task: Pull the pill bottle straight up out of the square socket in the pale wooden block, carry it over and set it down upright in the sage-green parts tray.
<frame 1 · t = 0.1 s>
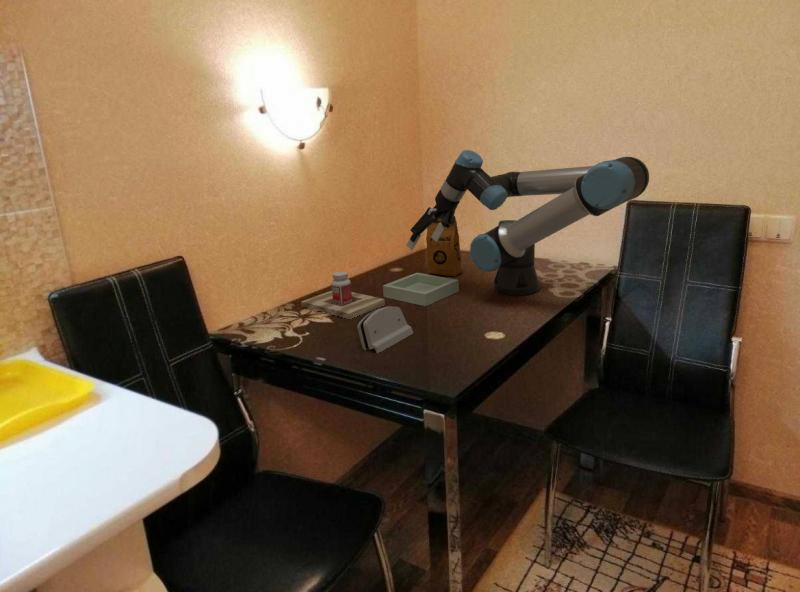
hand: (422, 243, 202), 15 cm above the table, tool tilted 35°, fingers open, 13 cm apart
socket block: (343, 306, 191), on the table
parts tray: (421, 294, 198), on the table
coffee package: (444, 274, 220), on the table
pill bottle: (343, 306, 191), resting in socket block
napkin holder: (385, 341, 161), on the table
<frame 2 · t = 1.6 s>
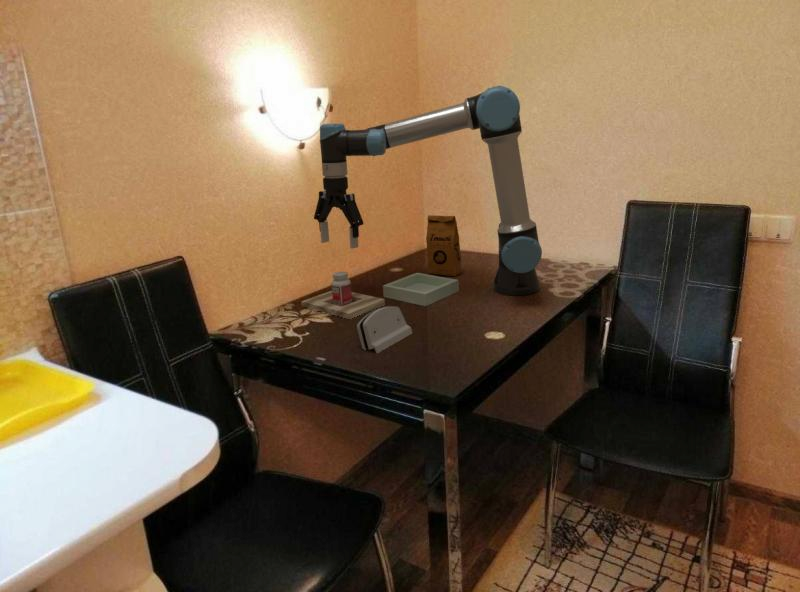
hand: (339, 245, 186), 20 cm above the table, tool pointing down, fingers open, 13 cm apart
nothing on the table moved.
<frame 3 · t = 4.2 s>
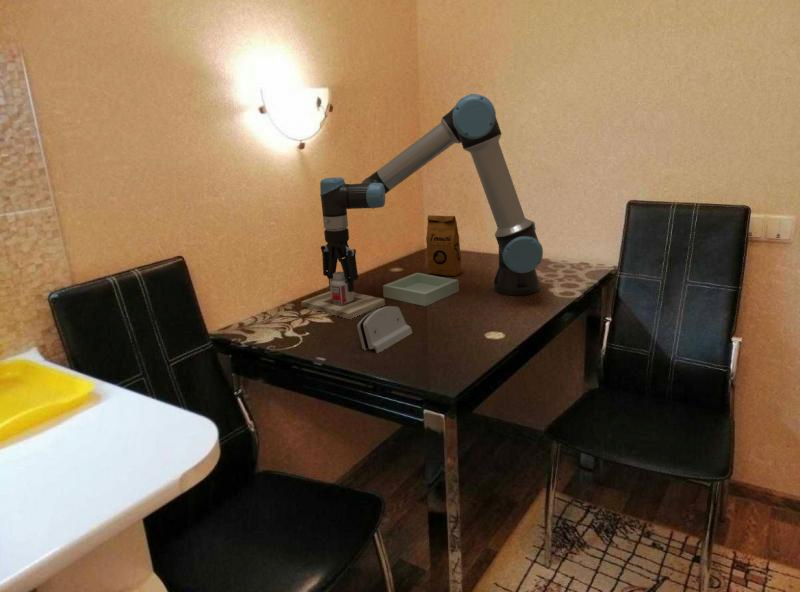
hand: (342, 299, 190), 2 cm above the table, tool pointing down, fingers closed on pill bottle, 6 cm apart
pill bottle: (343, 306, 191), resting in socket block, touching gripper
everything else where it was.
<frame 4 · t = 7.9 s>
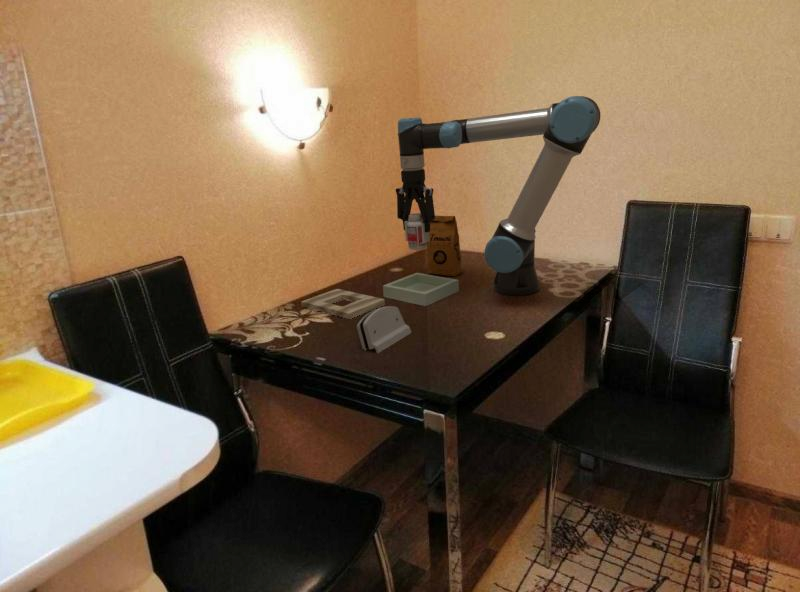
hand: (417, 241, 192), 18 cm above the table, tool pointing down, fingers closed on pill bottle, 6 cm apart
pill bottle: (418, 248, 193), point 16 cm above the table, touching gripper
everything else where it was.
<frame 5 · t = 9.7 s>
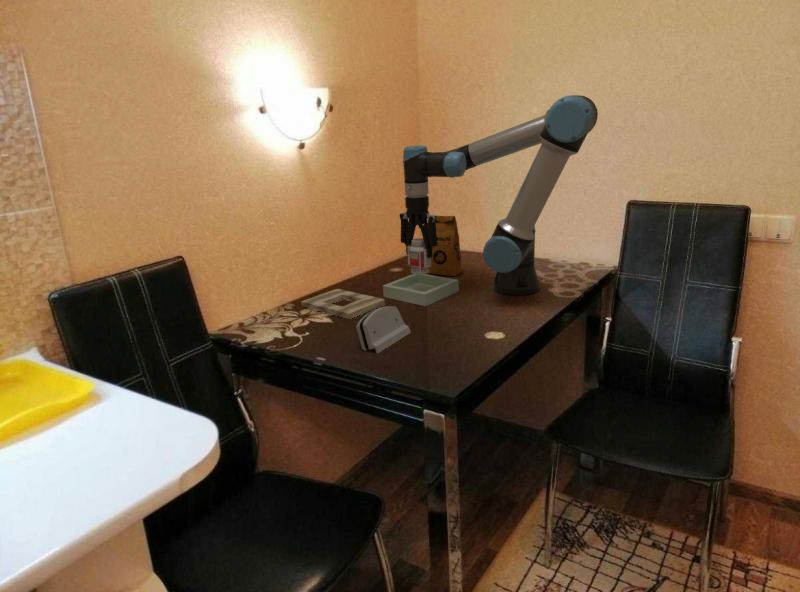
hand: (419, 265, 195), 10 cm above the table, tool pointing down, fingers closed on pill bottle, 6 cm apart
pill bottle: (420, 272, 196), point 7 cm above the table, touching gripper
everything else where it was.
when the fingers open (5 cm above the table, at t = 11.4 s): pill bottle drops 1 cm, resting on parts tray.
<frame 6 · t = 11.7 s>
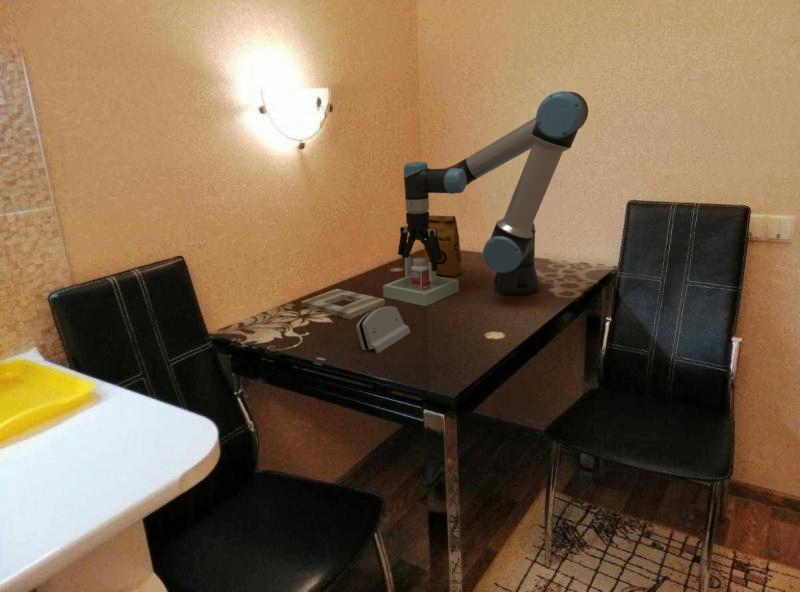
hand: (420, 278, 196), 6 cm above the table, tool pointing down, fingers open, 9 cm apart
pill bottle: (421, 291, 198), point 1 cm above the table, touching parts tray
everything else where it was.
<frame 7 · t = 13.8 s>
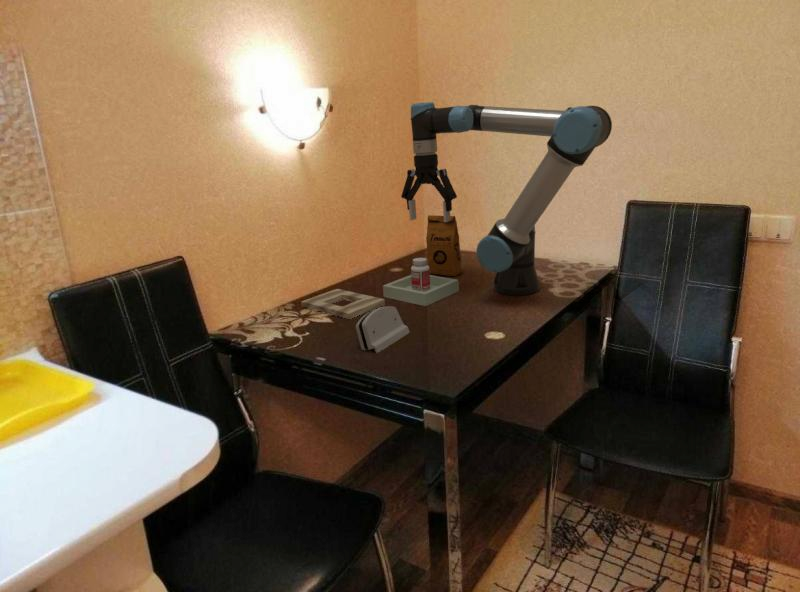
hand: (429, 220, 192), 24 cm above the table, tool pointing down, fingers open, 13 cm apart
nothing on the table moved.
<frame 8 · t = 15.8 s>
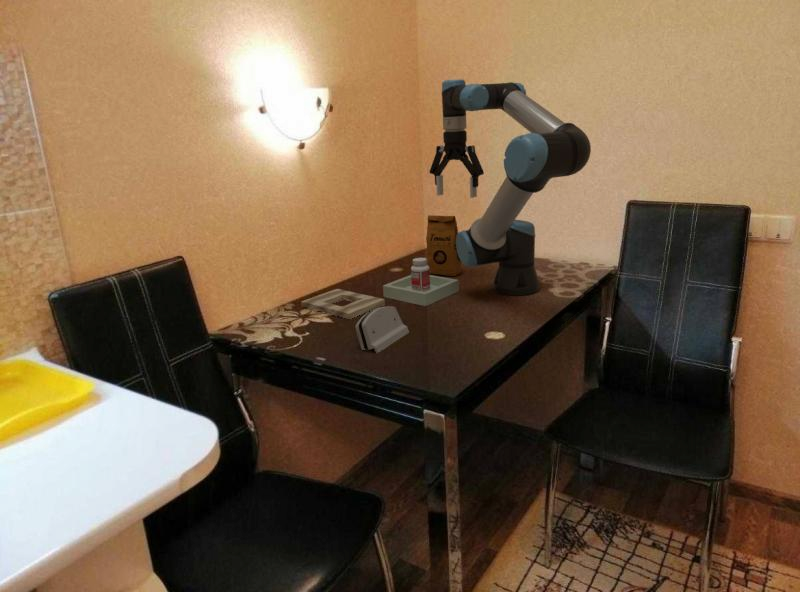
hand: (456, 196, 198), 31 cm above the table, tool pointing down, fingers open, 13 cm apart
nothing on the table moved.
at the end: pill bottle inside the target area on the parts tray (0.1 cm from its centre), point 0.8 cm above the parts tray's base; pill bottle tilted 0°; the gripper is holding nothing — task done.
